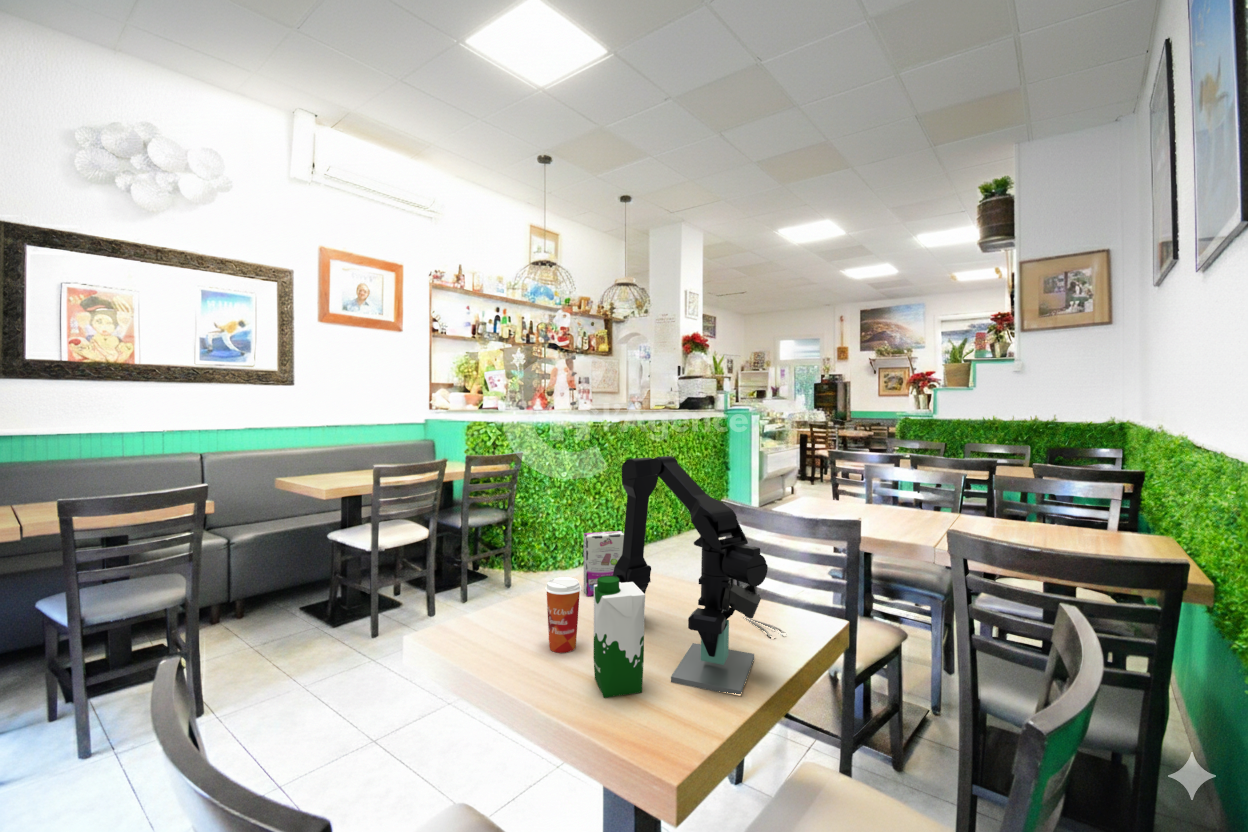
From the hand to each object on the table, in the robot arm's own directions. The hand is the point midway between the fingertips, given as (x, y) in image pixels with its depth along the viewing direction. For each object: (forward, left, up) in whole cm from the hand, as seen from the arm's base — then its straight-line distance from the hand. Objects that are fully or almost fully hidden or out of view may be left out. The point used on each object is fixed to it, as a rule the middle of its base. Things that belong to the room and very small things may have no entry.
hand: (714, 651), depth 108 cm
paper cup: (-32, -3, -4) cm, 32 cm away
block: (0, 0, -1) cm, 1 cm away
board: (0, 0, -4) cm, 4 cm away
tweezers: (+4, +26, -4) cm, 27 cm away
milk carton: (-15, -13, -4) cm, 20 cm away
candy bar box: (-38, +32, -4) cm, 50 cm away
